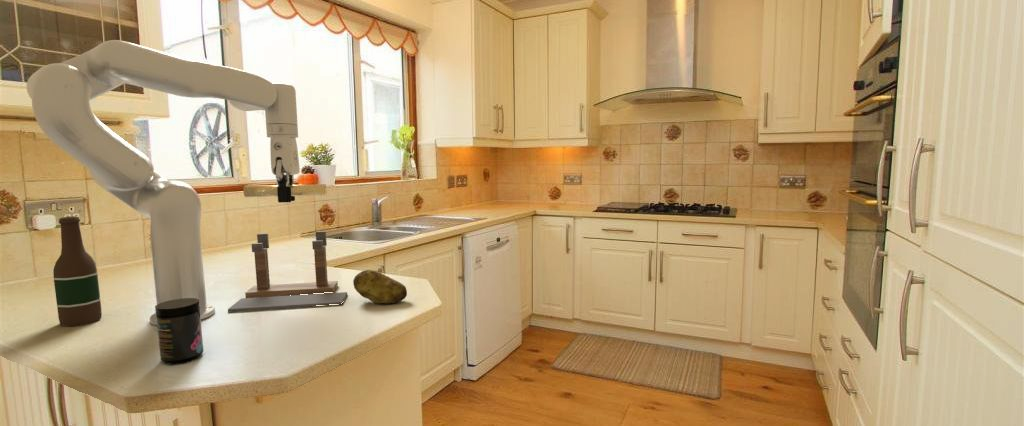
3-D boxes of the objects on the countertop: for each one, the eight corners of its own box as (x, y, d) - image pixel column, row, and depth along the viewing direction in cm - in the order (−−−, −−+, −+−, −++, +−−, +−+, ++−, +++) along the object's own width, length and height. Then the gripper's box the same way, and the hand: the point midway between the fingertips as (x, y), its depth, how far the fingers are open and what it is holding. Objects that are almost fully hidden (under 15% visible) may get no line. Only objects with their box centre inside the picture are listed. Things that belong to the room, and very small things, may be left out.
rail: (324, 195, 132) (324, 184, 132) (243, 197, 129) (243, 186, 128) (327, 195, 135) (326, 184, 135) (247, 196, 132) (247, 185, 131)
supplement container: (190, 365, 88) (185, 308, 87) (151, 366, 88) (145, 309, 87) (211, 350, 95) (207, 297, 94) (175, 351, 95) (170, 298, 93)
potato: (389, 310, 118) (388, 277, 117) (348, 303, 124) (347, 272, 123) (411, 300, 126) (409, 269, 125) (371, 295, 131) (370, 265, 130)
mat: (342, 305, 123) (341, 301, 122) (228, 312, 118) (227, 309, 118) (347, 295, 131) (347, 292, 131) (241, 301, 127) (241, 298, 127)
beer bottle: (109, 319, 114) (98, 215, 112) (66, 329, 108) (53, 220, 105) (95, 314, 118) (83, 214, 116) (52, 323, 112) (39, 218, 109)
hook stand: (333, 292, 134) (330, 234, 132) (245, 298, 130) (240, 237, 128) (337, 286, 140) (334, 230, 139) (254, 291, 137) (249, 233, 135)
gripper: (289, 130, 123) (294, 204, 125) (304, 133, 139) (308, 198, 141) (256, 130, 121) (261, 205, 123) (276, 133, 137) (280, 199, 139)
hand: (286, 201), depth 132 cm, fingers closed on rail, 3 cm apart
